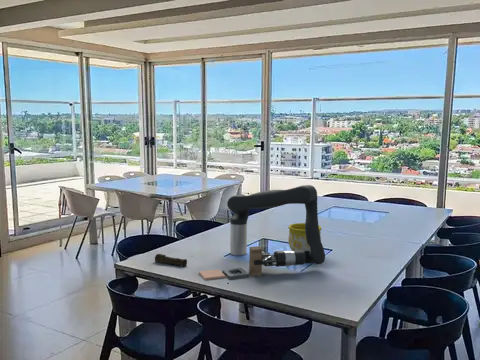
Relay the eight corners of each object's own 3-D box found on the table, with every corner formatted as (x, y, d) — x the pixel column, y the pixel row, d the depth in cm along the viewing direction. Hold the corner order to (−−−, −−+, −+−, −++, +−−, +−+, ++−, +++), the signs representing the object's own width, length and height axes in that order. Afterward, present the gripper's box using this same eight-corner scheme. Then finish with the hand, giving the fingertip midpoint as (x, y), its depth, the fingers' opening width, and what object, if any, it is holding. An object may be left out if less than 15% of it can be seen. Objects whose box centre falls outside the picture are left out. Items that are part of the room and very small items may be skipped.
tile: (199, 273, 220) (198, 271, 220) (218, 271, 224) (218, 269, 224) (204, 280, 211) (204, 277, 211) (225, 277, 215) (225, 275, 215)
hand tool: (187, 266, 233) (187, 257, 232) (183, 268, 229) (183, 259, 229) (158, 260, 242) (158, 252, 241) (153, 262, 238) (153, 254, 238)
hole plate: (222, 272, 222) (222, 269, 221) (241, 270, 225) (241, 267, 225) (229, 279, 212) (229, 276, 212) (249, 276, 216) (249, 273, 216)
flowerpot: (284, 257, 247) (284, 228, 245) (292, 249, 264) (293, 221, 262) (316, 261, 241) (317, 231, 239) (323, 253, 258) (324, 224, 256)
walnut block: (249, 272, 222) (249, 246, 221) (259, 272, 223) (259, 246, 222) (251, 276, 217) (251, 249, 216) (261, 275, 218) (261, 249, 217)
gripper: (280, 247, 229) (249, 248, 226) (288, 255, 215) (255, 256, 212) (280, 261, 230) (248, 263, 227) (288, 270, 216) (255, 272, 213)
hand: (252, 260), depth 219 cm, fingers open, 8 cm apart
